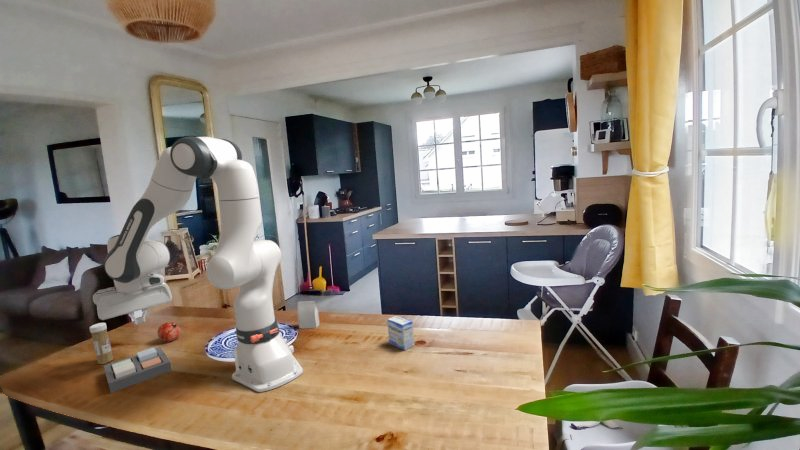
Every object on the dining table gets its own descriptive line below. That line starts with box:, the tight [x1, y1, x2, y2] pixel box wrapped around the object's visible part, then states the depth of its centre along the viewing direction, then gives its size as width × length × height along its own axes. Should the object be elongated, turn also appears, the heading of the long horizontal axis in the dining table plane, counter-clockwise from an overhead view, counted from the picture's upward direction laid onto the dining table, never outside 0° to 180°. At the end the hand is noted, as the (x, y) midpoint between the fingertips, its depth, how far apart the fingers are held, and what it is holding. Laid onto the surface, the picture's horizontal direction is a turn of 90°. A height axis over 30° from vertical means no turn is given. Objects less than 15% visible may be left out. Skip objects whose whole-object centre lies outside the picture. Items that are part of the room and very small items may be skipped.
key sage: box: [112, 359, 132, 371], centre depth 125 cm, size 5×5×2 cm
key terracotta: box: [141, 357, 162, 370], centre depth 124 cm, size 5×5×2 cm
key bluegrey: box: [136, 347, 158, 362], centre depth 129 cm, size 5×5×2 cm
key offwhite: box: [113, 362, 136, 379], centre depth 120 cm, size 5×5×2 cm
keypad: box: [103, 347, 173, 394], centre depth 125 cm, size 16×16×3 cm
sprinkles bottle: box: [89, 322, 114, 365], centre depth 134 cm, size 5×5×13 cm
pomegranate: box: [157, 321, 181, 343], centre depth 148 cm, size 7×7×10 cm
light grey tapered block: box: [297, 300, 320, 330], centre depth 149 cm, size 4×7×10 cm, turn 82°
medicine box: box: [386, 315, 415, 351], centre depth 127 cm, size 8×4×9 cm, turn 42°
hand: (140, 323), depth 127 cm, fingers closed
